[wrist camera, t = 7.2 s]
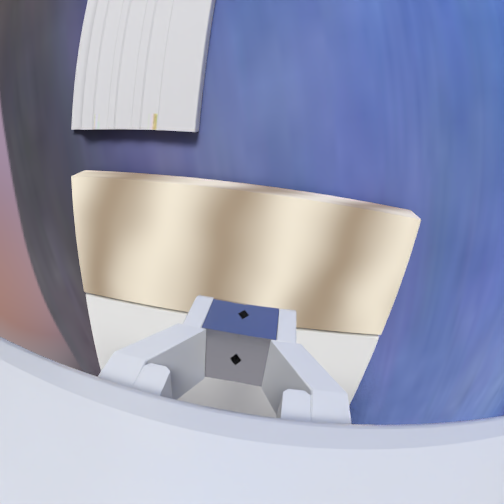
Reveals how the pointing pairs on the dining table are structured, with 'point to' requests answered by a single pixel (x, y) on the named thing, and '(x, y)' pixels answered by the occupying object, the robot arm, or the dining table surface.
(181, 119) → the baseboard
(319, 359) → the white board
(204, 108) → the dining table surface
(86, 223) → the birch plank
